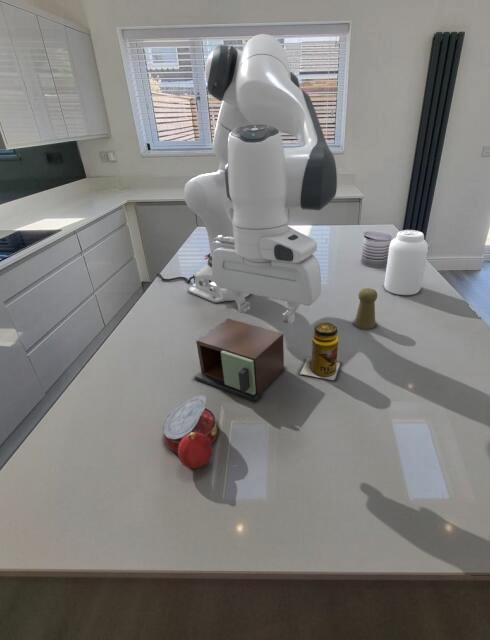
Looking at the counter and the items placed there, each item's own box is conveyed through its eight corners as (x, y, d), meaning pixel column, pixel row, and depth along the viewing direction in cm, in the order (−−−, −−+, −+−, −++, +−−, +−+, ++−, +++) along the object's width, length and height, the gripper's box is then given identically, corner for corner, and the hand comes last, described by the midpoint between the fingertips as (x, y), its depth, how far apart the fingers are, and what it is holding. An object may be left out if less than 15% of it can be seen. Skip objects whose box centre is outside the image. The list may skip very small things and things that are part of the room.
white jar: (381, 293, 129) (388, 235, 119) (386, 280, 139) (394, 226, 129) (418, 298, 125) (429, 239, 115) (421, 284, 135) (432, 229, 125)
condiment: (334, 380, 87) (337, 336, 81) (299, 374, 89) (300, 331, 83) (340, 363, 93) (343, 321, 87) (307, 358, 95) (308, 316, 89)
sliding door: (219, 389, 83) (214, 356, 78) (226, 382, 85) (222, 350, 81) (248, 400, 80) (245, 367, 75) (255, 393, 82) (253, 360, 77)
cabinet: (195, 379, 88) (188, 343, 83) (230, 351, 99) (226, 317, 93) (254, 401, 81) (252, 364, 76) (285, 369, 91) (285, 333, 86)
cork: (375, 329, 107) (379, 295, 102) (353, 328, 108) (357, 293, 103) (375, 320, 112) (379, 286, 107) (355, 318, 114) (358, 284, 108)
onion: (184, 453, 69) (177, 421, 65) (215, 450, 69) (210, 419, 65) (179, 479, 64) (171, 446, 60) (212, 476, 64) (207, 444, 60)
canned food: (201, 469, 71) (179, 456, 63) (164, 444, 75) (139, 429, 67) (234, 419, 76) (218, 400, 67) (197, 398, 80) (177, 378, 71)
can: (368, 256, 162) (371, 228, 156) (393, 261, 157) (397, 232, 150) (356, 263, 155) (358, 235, 148) (381, 269, 149) (385, 239, 143)
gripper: (199, 238, 62) (209, 312, 70) (309, 253, 54) (308, 336, 61) (221, 229, 67) (229, 299, 74) (326, 242, 59) (324, 320, 66)
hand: (266, 316), depth 68 cm, fingers open, 8 cm apart
